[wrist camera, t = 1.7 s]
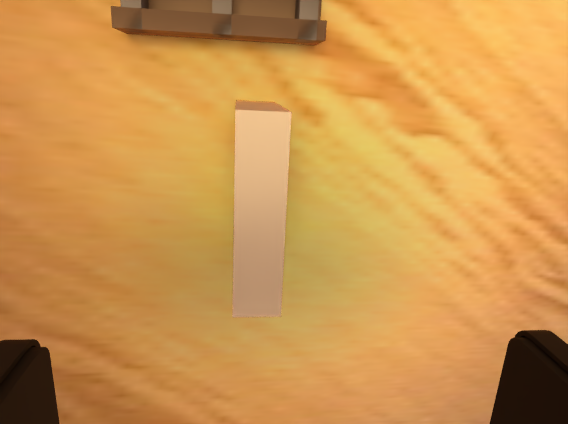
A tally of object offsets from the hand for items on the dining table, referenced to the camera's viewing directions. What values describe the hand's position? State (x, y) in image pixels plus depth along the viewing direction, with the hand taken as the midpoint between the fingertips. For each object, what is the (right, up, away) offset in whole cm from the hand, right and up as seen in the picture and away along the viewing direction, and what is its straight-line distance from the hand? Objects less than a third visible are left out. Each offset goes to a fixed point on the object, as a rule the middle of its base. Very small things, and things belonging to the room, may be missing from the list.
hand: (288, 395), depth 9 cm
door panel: (-2, +6, +19) cm, 21 cm away
